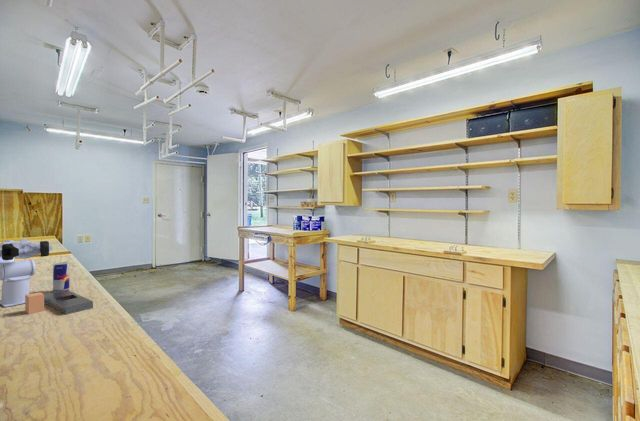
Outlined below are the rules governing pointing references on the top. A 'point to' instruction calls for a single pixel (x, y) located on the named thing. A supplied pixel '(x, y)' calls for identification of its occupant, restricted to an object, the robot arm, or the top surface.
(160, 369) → the top surface
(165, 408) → the top surface
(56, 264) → the energy drink
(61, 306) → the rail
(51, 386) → the top surface
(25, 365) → the top surface
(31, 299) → the square block
